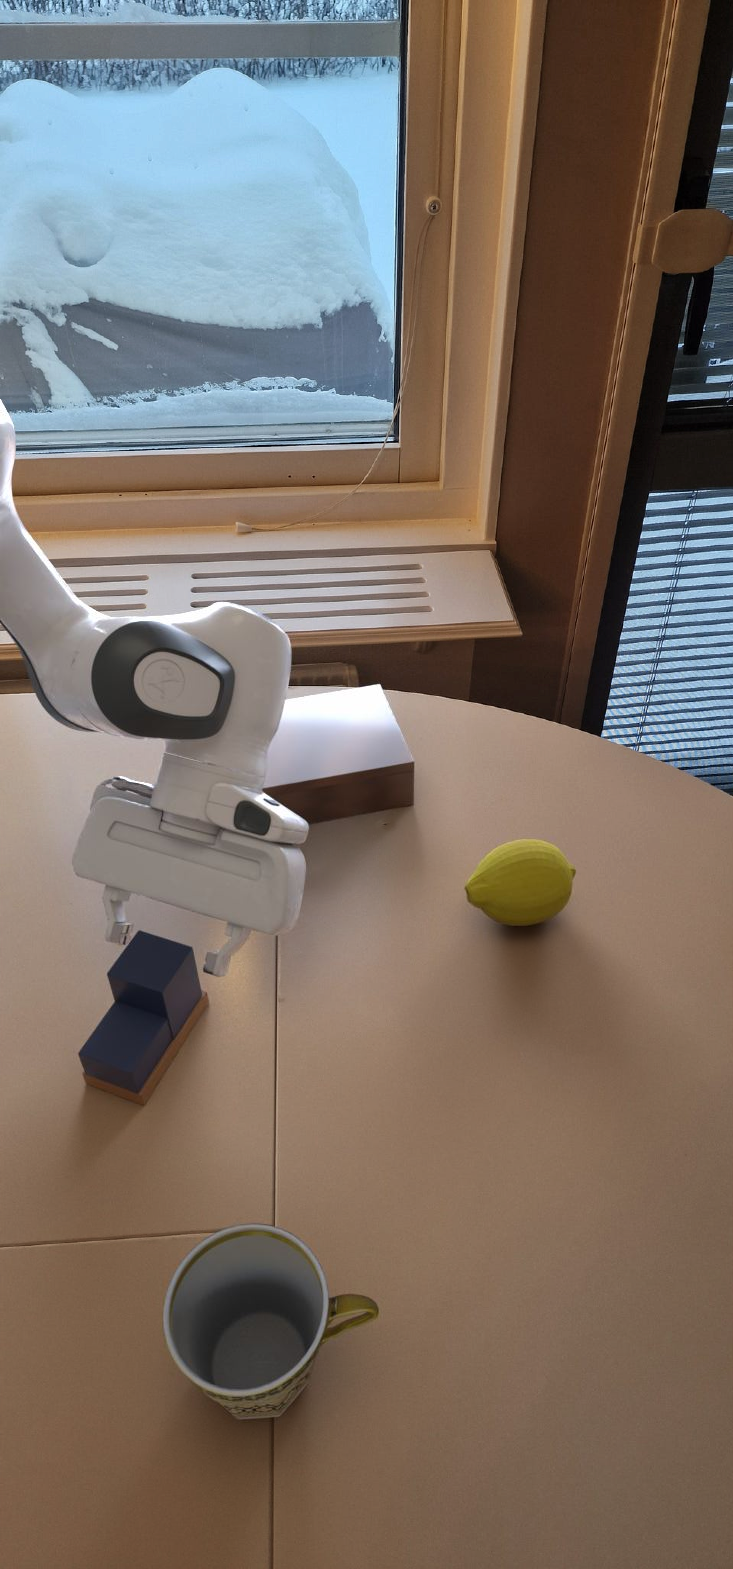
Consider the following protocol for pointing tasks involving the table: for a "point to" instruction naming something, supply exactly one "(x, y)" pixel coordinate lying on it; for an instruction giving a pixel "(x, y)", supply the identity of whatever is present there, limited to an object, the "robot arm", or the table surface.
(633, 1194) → the table surface
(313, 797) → the shoe shelf
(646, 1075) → the table surface
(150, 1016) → the trainer
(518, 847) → the lemon
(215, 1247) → the ceramic cup
